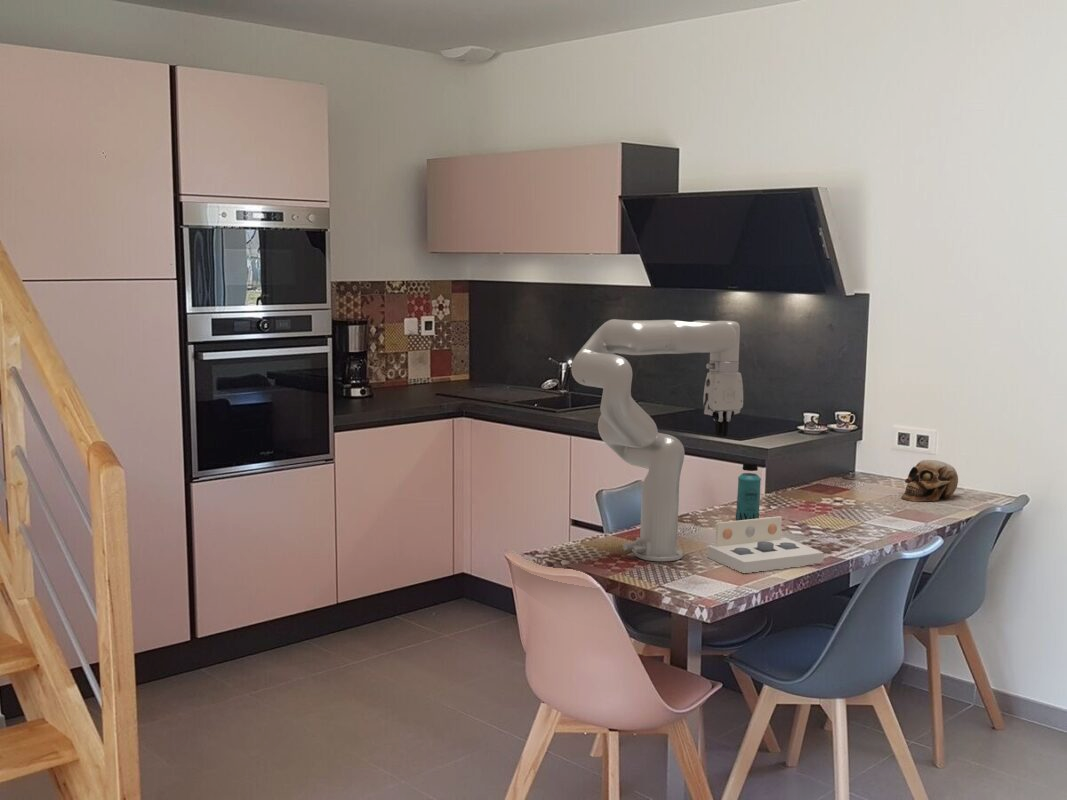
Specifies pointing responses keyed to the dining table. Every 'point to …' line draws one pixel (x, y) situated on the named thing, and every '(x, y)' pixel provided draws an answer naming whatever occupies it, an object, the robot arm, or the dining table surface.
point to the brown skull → (930, 481)
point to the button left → (742, 551)
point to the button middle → (765, 546)
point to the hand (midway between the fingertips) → (721, 435)
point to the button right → (787, 545)
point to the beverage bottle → (748, 493)
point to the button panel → (748, 537)
